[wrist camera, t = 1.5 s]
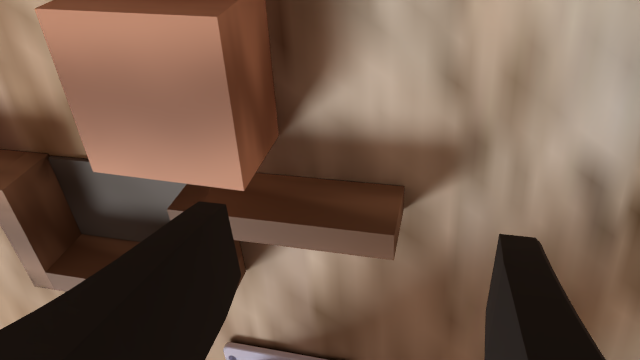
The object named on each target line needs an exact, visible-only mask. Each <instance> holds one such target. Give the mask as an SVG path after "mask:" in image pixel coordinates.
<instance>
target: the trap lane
mask: <svg viewBox="0 0 640 360" xmlns="http://www.w3.org/2000/svg"><path fill="white" fill-rule="evenodd" d="M199 201H201V202H211V203H220V204H226V207H227V212H228V216H229V221H230V225H231V230H232V234H233V239H234V244H235V248H236V253H237V257H238V262H239V266H240V271H241V278H240V281H239V284H240V282H241V280H242V278H243V276H244V274H245V272H246V269H245V265H244V260H243V255H242V250H241V246H240V241H246V242H254V243H262V244H270V245H278V246H286V247H294V248H301V249H309V250H317V251H325V252H333V253H341V254H349V255H357V256H365V257H372V258H380V259H388V260H394V256H395V251H396V246H397V241H398V236H399V230H400V225H401V220H402V215H403V209H404V186H394V185H383V184H372V183H361V182H350V181H339V180H328V179H318V178H307V177H296V176H285V175H274V174H263V173H255V174H254V176H253V178H252V179H251V181H250V182H249V184H248V186H247V187H246V189H245V190H244V191H239V190H232V189H224V188H216V187H208V186H200V185H192V184H185V183H177V182H169V181H161V180H153V179H145V178H137V177H130V176H122V175H114V174H106V173H98V172H93V170H92V168H91V165H90V162H89V159H80V158H69V157H59V156H50V157H49V155H48V154H44V153H33V152H22V151H11V150H1V149H0V225H1V227H2V229H3V231H4V232H5V234H6V236H7V238H8V240H9V241H10V243H11V245H12V247H13V249H14V250H15V252H16V254H17V256H18V258H19V259H20V261H21V263H22V265H23V267H24V268H25V270H26V272H27V274H28V276H29V277H30V279H31V281H32V283H33V285H34V286H36V287H42V288H48V289H54V290H60V291H66V292H67V291H68V290H70V289H72V288H73V287H75V286H76V285H78V284H79V283H81V282H82V281H84V280H85V279H87V278H88V277H90V276H92V275H93V274H95V273H96V272H98V271H99V270H101V269H102V268H104V267H105V266H107V265H109V264H110V263H112V262H113V261H114V260H116V259H117V258H119V257H120V256H122V255H123V254H124V253H126V252H127V251H129V250H130V249H132V248H133V247H134V246H136V245H137V244H139V243H140V242H141V241H143V240H144V239H146V238H147V237H149V236H150V235H151V234H153V233H154V232H156V231H157V230H158V229H160V228H161V227H162V226H164V225H165V224H167V223H168V222H169V221H171V220H172V219H174V218H175V217H176V216H178V215H179V214H181V213H182V212H184V211H185V210H187V209H188V208H189V207H191V206H193V205H194V204H196V203H197V202H199ZM239 284H238V286H239ZM237 288H238V287H237ZM236 290H237V289H236Z"/></svg>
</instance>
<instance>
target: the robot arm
mask: <svg viewBox="0 0 640 360" xmlns="http://www.w3.org/2000/svg"><path fill="white" fill-rule="evenodd" d="M240 278H241V271H240V266H239V262H238V257H237V253H236V248H235V244H234V239H233V234H232V230H231V225H230V221H229V216H228V212H227V207H226V204H220V203H211V202H201V201H199V202H197V203H196V204H194V205H193V206H191V207H189V208H188V209H187V210H185V211H184V212H182V213H181V214H179V215H178V216H176V217H175V218H174V219H172V220H171V221H169V222H168V223H167V224H165V225H164V226H162V227H161V228H160V229H158V230H157V231H156V232H154V233H153V234H151V235H150V236H149V237H147V238H146V239H144V240H143V241H141V242H140V243H139V244H137V245H136V246H134V247H133V248H132V249H130V250H129V251H127V252H126V253H124V254H123V255H122V256H120V257H119V258H117V259H116V260H114V261H113V262H112V263H110V264H109V265H107V266H105V267H104V268H102V269H101V270H99V271H98V272H96V273H95V274H93V275H92V276H90V277H88V278H87V279H85V280H84V281H82V282H81V283H79V284H78V285H76V286H75V287H73V288H72V289H70V290H68V291H67V292H65V293H64V294H62V295H61V296H59V297H57V298H56V299H54V300H52V301H51V302H49V303H47V304H46V305H44V306H42V307H40V308H39V309H37V310H35V311H34V312H32V313H30V314H28V315H26V316H24V317H23V318H21V319H19V320H17V321H15V322H14V323H12V324H10V325H8V326H6V327H4V328H3V329H1V330H0V360H205V359H206V357H207V355H208V353H209V351H210V349H211V347H212V345H213V343H214V341H215V339H216V337H217V335H218V333H219V331H220V329H221V327H222V325H223V323H224V321H225V319H226V317H227V314H228V311H229V309H230V306H231V304H232V301H233V298H234V295H235V292H236V289H237V287H238V284H239V281H240ZM223 351H224V355H225V358H226V360H328V359H322V358H316V357H311V356H305V355H300V354H294V353H289V352H283V351H277V350H272V349H266V348H261V347H255V346H249V345H244V344H238V343H233V342H229V343H227V344H226V345H225V347H224V349H223ZM485 360H605V358H604V356H603V355H602V353H601V352H600V350H599V349H598V347H597V346H596V344H595V342H594V341H593V339H592V337H591V336H590V334H589V332H588V331H587V329H586V328H585V326H584V324H583V323H582V321H581V319H580V318H579V316H578V314H577V313H576V311H575V309H574V308H573V306H572V304H571V302H570V301H569V299H568V297H567V295H566V293H565V291H564V290H563V288H562V286H561V284H560V282H559V280H558V278H557V276H556V275H555V273H554V271H553V269H552V267H551V265H550V263H549V260H548V258H547V256H546V254H545V252H544V250H543V247H542V245H541V243H540V242H539V241H538V240H537V239H536V238H532V237H523V236H514V235H504V234H499V239H498V245H497V251H496V256H495V262H494V268H493V273H492V279H491V284H490V290H489V296H488V301H487V307H486V324H485Z"/></svg>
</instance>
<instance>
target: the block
mask: <svg viewBox="0 0 640 360" xmlns="http://www.w3.org/2000/svg"><path fill="white" fill-rule="evenodd" d="M35 12H36V14H37V17H38V20H39V23H40V25H41V28H42V31H43V34H44V37H45V39H46V42H47V45H48V48H49V51H50V53H51V56H52V59H53V62H54V64H55V67H56V70H57V73H58V76H59V78H60V81H61V84H62V87H63V90H64V92H65V95H66V98H67V101H68V103H69V106H70V109H71V112H72V115H73V117H74V120H75V123H76V126H77V129H78V131H79V134H80V137H81V140H82V142H83V145H84V148H85V151H86V154H87V156H88V159H89V162H90V165H91V168H92V170H93V172H98V173H106V174H114V175H122V176H130V177H137V178H145V179H153V180H161V181H169V182H177V183H185V184H192V185H200V186H208V187H216V188H224V189H232V190H239V191H244V190H245V189H246V187H247V186H248V184H249V182H250V181H251V179H252V178H253V176H254V174H255V173H256V171H257V170H258V168H259V166H260V165H261V163H262V162H263V160H264V158H265V157H266V155H267V154H268V152H269V150H270V149H271V147H272V146H273V144H274V143H275V141H276V139H277V138H278V136H279V133H278V123H277V113H276V102H275V92H274V82H273V72H272V62H271V52H270V42H269V32H268V22H267V12H266V2H265V0H53V1H51V2H48V3H46V4H44V5H42V6H39V7H37V8H35Z"/></svg>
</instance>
